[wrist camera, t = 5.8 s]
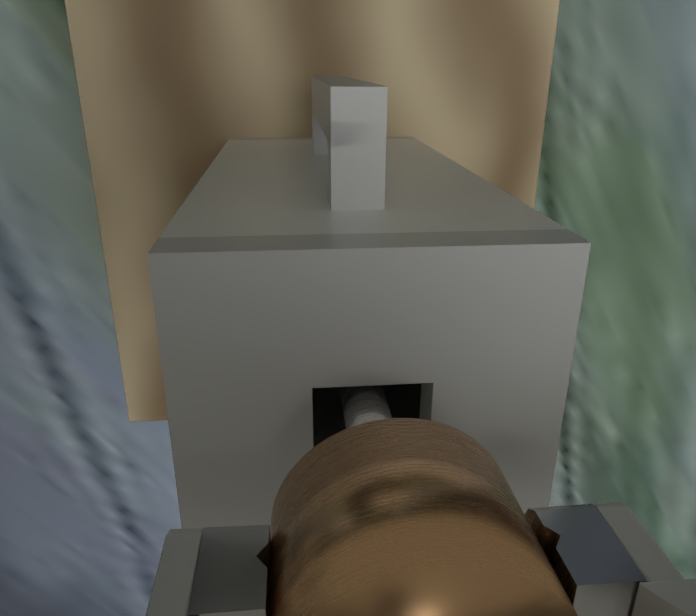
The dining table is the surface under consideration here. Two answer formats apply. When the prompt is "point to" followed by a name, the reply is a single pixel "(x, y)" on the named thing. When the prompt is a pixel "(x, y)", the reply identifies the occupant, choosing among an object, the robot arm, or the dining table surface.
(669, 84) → the dining table surface
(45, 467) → the dining table surface
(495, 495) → the plunger
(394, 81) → the board
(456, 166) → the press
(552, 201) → the dining table surface
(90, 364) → the dining table surface
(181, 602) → the robot arm
